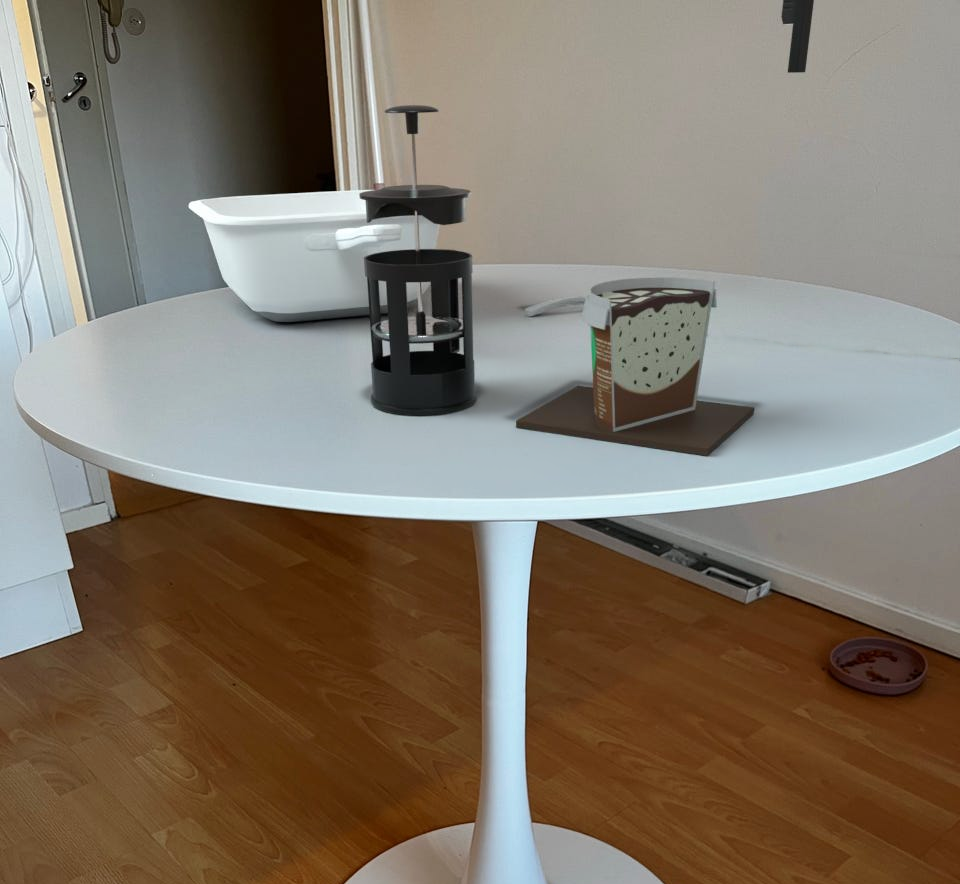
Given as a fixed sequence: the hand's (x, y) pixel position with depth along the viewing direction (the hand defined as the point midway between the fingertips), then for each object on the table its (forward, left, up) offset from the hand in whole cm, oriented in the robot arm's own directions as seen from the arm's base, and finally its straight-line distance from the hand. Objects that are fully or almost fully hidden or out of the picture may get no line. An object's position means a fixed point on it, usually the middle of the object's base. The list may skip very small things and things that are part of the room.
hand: (883, 71), depth 79 cm
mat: (+12, +18, -25) cm, 33 cm away
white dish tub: (+59, -5, -25) cm, 64 cm away
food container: (+13, +18, -24) cm, 33 cm away
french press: (+31, +20, -25) cm, 45 cm away
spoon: (+36, -21, -25) cm, 48 cm away
